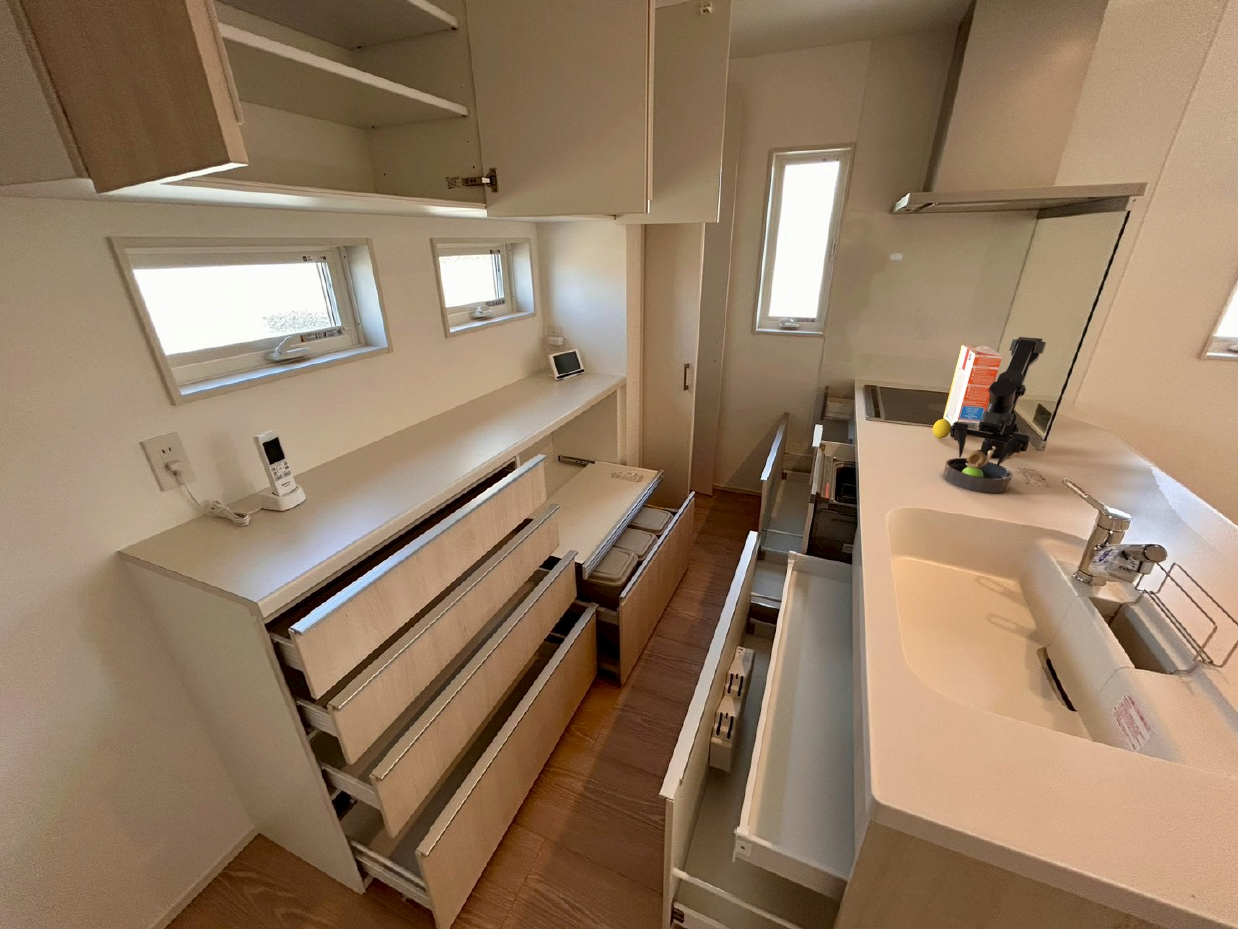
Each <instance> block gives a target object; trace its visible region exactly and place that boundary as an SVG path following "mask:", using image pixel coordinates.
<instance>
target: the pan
mask: <svg viewBox="0 0 1238 929" xmlns="http://www.w3.org/2000/svg"><path fill="white" fill-rule="evenodd" d="M966 463H968V461H967V457H955V458H949V459H947V460H946V461H945V465H944V469H943V473H942V477H943V479H944V480H945V481H947V482H949V483H950V484H952V485H954V486H957V487H959V488H962V489H964V490H968V491H973V492H978V493H987V494H993V493H994V494H997V493H1003V492H1006V491H1007V490H1009V488H1010V486H1011V483H1012V479H1013V476H1014V475H1013V472H1012V471H1011V470H1010V469H1008V468H1006V467H1004V466H1003V465H1001V464H1000V465H999V466H997V463H995V462H991V461H989V462H988V463H987V464H986V465H985V466H983V467H980V468H979V469H980V470H981V471H982V472H983V475H984V476H983V478H982V477H976V476H972V475H968V474H965V473H962V471H963V470H964V469H965V468H967V467H968V466H967V465H966Z"/></svg>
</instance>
